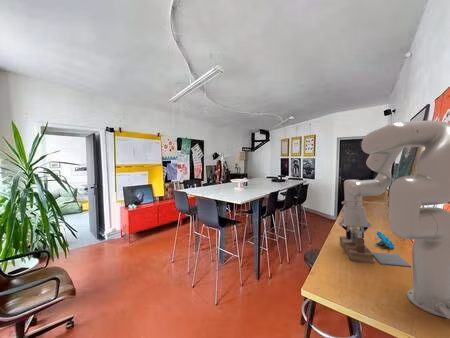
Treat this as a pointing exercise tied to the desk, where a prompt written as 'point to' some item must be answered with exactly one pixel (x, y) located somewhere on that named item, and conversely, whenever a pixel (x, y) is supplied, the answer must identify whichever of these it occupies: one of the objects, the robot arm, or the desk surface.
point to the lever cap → (355, 233)
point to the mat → (390, 259)
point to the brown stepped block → (356, 250)
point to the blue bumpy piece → (384, 240)
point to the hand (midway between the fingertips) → (355, 238)
